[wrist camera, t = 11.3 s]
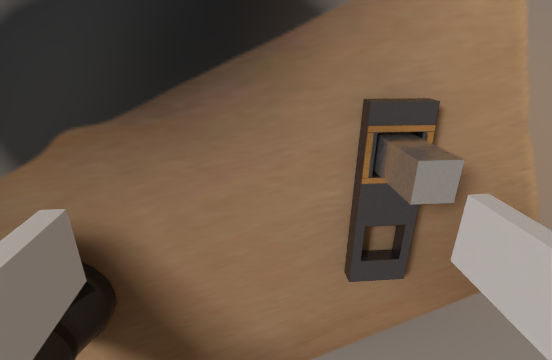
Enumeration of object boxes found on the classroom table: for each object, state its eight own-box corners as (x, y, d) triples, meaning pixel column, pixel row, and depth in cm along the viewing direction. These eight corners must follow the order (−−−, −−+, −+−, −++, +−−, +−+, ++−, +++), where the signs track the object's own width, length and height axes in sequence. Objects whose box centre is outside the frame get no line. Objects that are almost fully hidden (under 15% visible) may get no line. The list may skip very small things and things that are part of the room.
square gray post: (369, 166, 45) (410, 204, 34) (373, 132, 43) (418, 160, 32) (402, 165, 45) (453, 202, 34) (408, 131, 43) (464, 159, 32)
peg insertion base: (344, 271, 52) (349, 282, 49) (363, 98, 41) (371, 102, 38) (396, 268, 52) (404, 279, 50) (429, 98, 42) (440, 101, 39)
